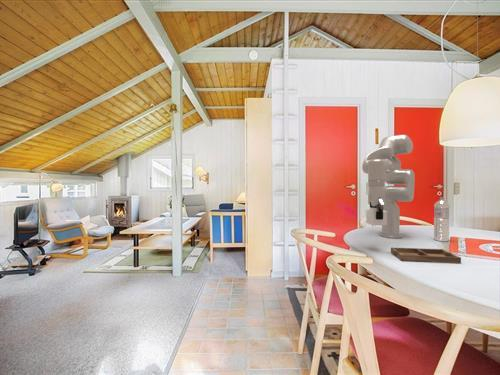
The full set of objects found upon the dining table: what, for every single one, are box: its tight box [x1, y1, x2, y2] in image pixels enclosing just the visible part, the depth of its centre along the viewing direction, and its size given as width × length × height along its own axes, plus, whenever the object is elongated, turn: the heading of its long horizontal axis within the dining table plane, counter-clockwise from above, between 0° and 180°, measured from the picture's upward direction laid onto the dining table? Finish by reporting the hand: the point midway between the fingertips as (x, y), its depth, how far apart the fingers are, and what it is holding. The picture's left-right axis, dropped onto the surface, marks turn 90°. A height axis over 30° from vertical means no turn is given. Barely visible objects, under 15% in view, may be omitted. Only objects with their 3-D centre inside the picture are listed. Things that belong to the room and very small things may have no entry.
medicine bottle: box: [365, 202, 387, 227], centre depth 120 cm, size 7×7×12 cm
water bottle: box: [433, 197, 450, 243], centre depth 135 cm, size 7×7×25 cm
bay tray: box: [390, 247, 462, 264], centre depth 108 cm, size 12×23×2 cm, turn 80°
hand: (376, 217), depth 120 cm, fingers closed on medicine bottle, 7 cm apart
